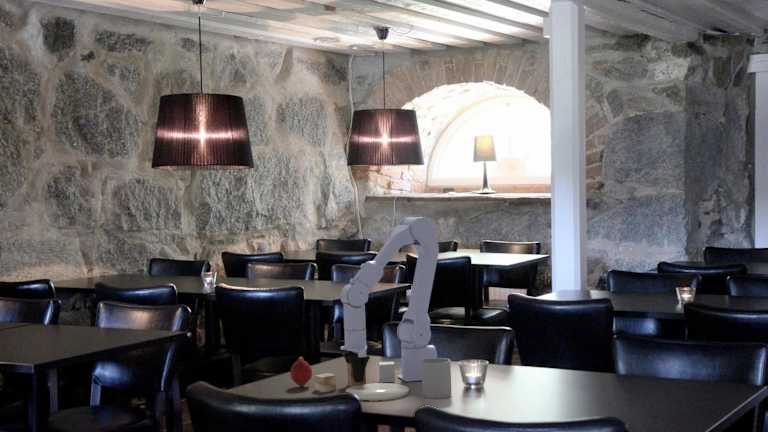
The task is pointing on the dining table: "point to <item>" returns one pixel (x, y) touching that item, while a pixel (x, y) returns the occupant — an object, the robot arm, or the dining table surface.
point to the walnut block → (351, 378)
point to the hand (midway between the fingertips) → (356, 380)
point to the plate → (379, 391)
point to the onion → (301, 372)
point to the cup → (436, 378)
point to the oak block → (325, 382)
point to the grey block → (387, 372)
